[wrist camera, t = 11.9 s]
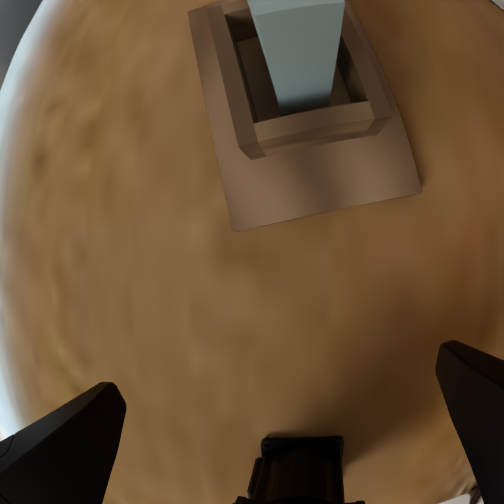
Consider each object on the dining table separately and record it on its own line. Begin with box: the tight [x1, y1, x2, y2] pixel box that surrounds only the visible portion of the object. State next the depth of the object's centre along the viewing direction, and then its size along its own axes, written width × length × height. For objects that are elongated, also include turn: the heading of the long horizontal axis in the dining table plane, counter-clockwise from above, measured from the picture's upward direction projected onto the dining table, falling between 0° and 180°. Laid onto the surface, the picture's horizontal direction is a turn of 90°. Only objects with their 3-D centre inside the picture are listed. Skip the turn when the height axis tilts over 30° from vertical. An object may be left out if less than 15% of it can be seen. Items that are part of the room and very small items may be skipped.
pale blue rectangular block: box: [247, 0, 345, 115], centre depth 12 cm, size 3×5×10 cm, turn 13°
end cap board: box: [188, 0, 422, 232], centre depth 15 cm, size 12×18×4 cm, turn 13°
